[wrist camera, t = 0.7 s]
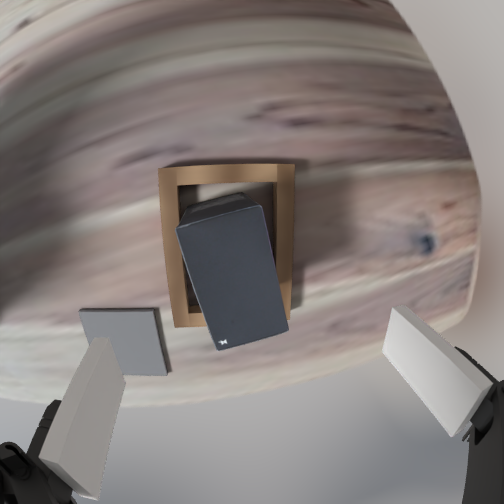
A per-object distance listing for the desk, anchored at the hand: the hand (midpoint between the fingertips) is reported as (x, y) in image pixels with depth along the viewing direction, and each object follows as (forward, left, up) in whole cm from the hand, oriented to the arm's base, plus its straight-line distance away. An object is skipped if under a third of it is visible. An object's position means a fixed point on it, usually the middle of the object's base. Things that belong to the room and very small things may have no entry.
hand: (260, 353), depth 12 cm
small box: (0, -1, -19) cm, 19 cm away
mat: (-14, -13, -19) cm, 27 cm away
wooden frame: (0, -1, -19) cm, 19 cm away
